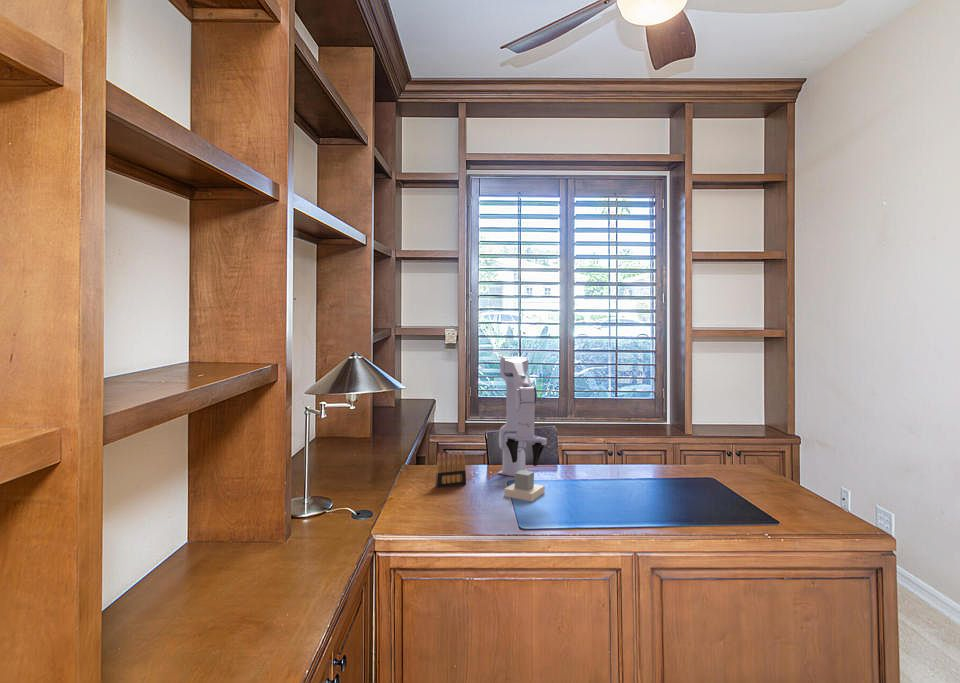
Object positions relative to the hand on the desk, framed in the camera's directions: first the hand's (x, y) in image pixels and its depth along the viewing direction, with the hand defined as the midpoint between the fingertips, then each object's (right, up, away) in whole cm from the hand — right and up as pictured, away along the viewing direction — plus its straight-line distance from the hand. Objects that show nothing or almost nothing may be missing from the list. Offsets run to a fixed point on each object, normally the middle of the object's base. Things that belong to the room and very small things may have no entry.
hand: (525, 463), depth 186 cm
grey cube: (0, -8, 0) cm, 8 cm away
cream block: (0, -11, +1) cm, 11 cm away
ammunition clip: (-25, -10, +9) cm, 29 cm away
